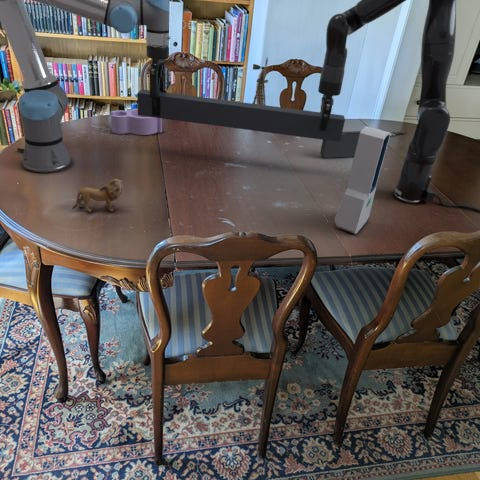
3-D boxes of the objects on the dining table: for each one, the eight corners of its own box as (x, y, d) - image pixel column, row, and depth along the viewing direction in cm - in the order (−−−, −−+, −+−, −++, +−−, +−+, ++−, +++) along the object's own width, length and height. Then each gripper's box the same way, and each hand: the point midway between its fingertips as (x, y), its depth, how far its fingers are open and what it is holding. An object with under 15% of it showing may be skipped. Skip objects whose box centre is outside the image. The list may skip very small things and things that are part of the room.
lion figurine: (122, 202, 142) (121, 175, 137) (125, 210, 138) (124, 183, 133) (71, 206, 137) (68, 178, 132) (73, 215, 133) (69, 187, 128)
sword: (401, 131, 224) (402, 128, 223) (406, 133, 222) (407, 131, 221) (358, 142, 208) (358, 140, 207) (363, 145, 206) (363, 142, 205)
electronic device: (355, 236, 138) (381, 139, 122) (331, 227, 141) (354, 131, 125) (368, 219, 147) (394, 127, 131) (346, 211, 150) (369, 121, 134)
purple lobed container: (113, 135, 186) (112, 118, 182) (110, 125, 196) (109, 108, 192) (163, 134, 192) (163, 118, 189) (157, 124, 202) (157, 108, 198)
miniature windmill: (263, 130, 207) (272, 60, 191) (245, 127, 208) (252, 57, 192) (266, 124, 215) (275, 56, 199) (248, 121, 216) (256, 53, 200)
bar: (137, 115, 168) (137, 92, 164) (142, 111, 173) (141, 89, 168) (340, 142, 164) (344, 119, 160) (339, 137, 168) (344, 115, 164)
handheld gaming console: (367, 153, 195) (373, 130, 190) (371, 156, 193) (377, 132, 188) (318, 155, 188) (323, 131, 183) (321, 158, 186) (326, 134, 181)
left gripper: (161, 51, 149) (161, 122, 162) (175, 42, 164) (174, 107, 177) (138, 49, 150) (140, 119, 162) (154, 39, 165) (155, 104, 177)
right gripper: (344, 85, 150) (333, 136, 159) (341, 75, 162) (332, 122, 171) (320, 82, 150) (311, 133, 159) (320, 72, 162) (311, 120, 171)
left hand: (158, 113), depth 170 cm, fingers closed on bar, 5 cm apart
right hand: (322, 127), depth 165 cm, fingers closed on bar, 5 cm apart
